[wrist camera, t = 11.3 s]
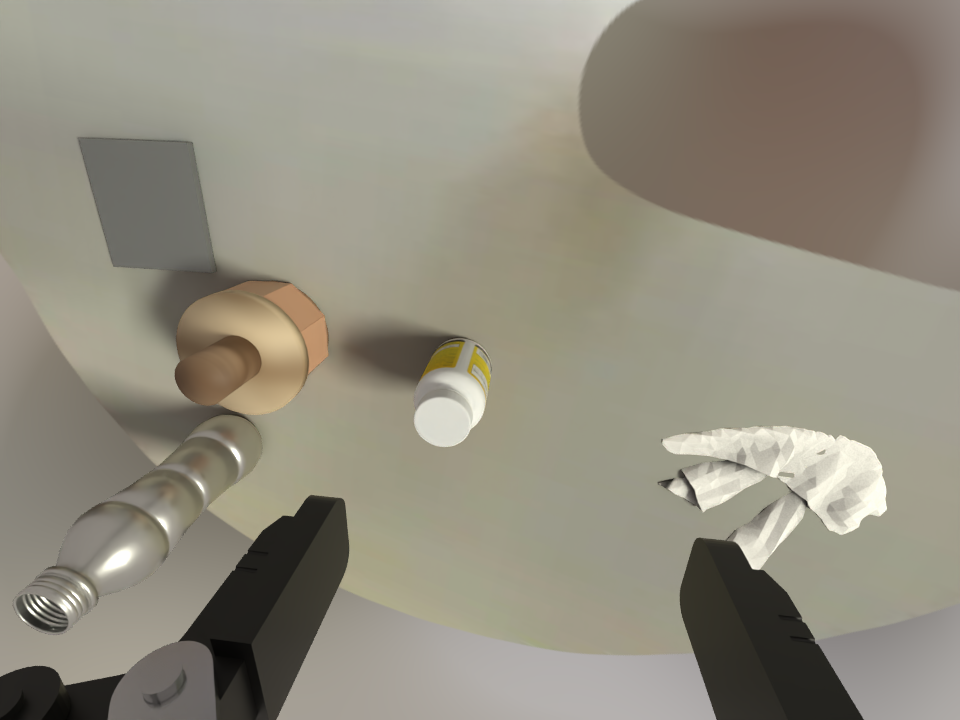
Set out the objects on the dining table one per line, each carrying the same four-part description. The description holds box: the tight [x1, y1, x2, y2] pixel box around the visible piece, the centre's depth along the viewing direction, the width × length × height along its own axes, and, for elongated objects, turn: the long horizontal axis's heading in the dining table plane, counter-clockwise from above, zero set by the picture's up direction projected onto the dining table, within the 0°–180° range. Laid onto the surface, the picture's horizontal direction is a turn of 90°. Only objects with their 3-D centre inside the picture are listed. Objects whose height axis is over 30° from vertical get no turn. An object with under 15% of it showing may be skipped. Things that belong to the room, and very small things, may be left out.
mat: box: [78, 138, 216, 273], centre depth 37 cm, size 10×9×1 cm
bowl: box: [224, 281, 329, 376], centre depth 38 cm, size 9×9×5 cm
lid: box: [175, 290, 309, 415], centre depth 33 cm, size 10×10×6 cm
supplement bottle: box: [414, 338, 492, 447], centre depth 35 cm, size 5×5×10 cm
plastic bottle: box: [13, 415, 262, 635], centre depth 36 cm, size 6×7×20 cm
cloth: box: [658, 426, 887, 570], centre depth 41 cm, size 20×22×2 cm
